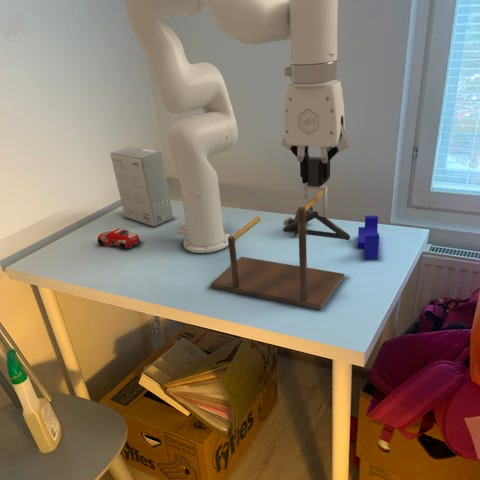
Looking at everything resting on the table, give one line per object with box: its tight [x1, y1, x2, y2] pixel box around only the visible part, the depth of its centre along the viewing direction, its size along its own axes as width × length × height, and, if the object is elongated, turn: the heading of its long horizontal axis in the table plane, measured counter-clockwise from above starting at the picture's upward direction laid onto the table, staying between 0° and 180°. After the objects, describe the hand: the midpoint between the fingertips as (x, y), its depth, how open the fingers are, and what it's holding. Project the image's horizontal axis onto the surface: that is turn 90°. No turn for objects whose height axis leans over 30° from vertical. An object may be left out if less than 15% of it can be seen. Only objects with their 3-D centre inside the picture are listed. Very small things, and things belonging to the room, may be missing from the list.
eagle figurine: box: [283, 206, 314, 237], centre depth 130 cm, size 8×7×9 cm
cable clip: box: [357, 215, 380, 261], centre depth 117 cm, size 12×4×6 cm, turn 168°
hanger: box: [282, 156, 351, 241], centre depth 94 cm, size 14×2×15 cm, turn 61°
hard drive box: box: [109, 146, 174, 227], centre depth 145 cm, size 16×8×20 cm, turn 46°
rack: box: [210, 187, 345, 311], centre depth 103 cm, size 26×14×21 cm, turn 60°
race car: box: [96, 228, 141, 250], centre depth 135 cm, size 13×5×4 cm, turn 60°
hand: (315, 181), depth 92 cm, fingers closed on hanger, 2 cm apart
